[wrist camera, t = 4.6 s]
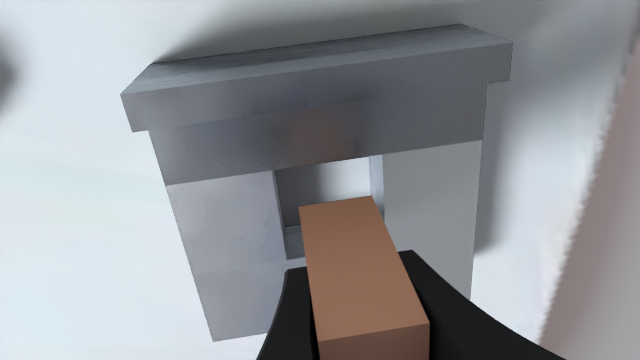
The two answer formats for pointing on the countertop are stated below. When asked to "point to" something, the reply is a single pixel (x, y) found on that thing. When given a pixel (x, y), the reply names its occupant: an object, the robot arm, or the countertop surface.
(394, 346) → the pin
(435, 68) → the grey square base
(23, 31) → the countertop surface
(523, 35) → the countertop surface
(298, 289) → the robot arm
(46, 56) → the countertop surface
